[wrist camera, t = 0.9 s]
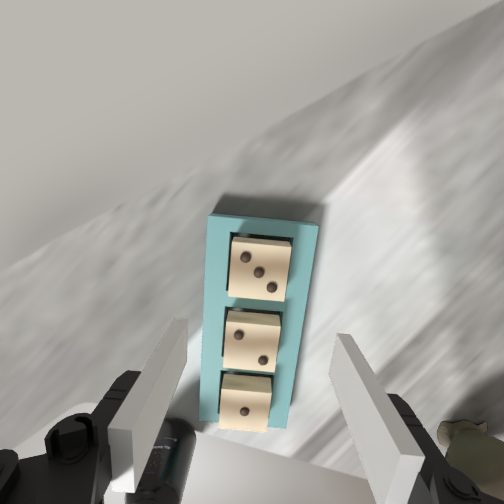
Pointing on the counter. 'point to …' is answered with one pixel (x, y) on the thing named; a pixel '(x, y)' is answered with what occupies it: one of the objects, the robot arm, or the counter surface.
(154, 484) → the supplement bottle
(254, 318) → the key two
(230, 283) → the key three
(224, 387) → the key one
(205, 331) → the teal puzzle board
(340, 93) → the counter surface
